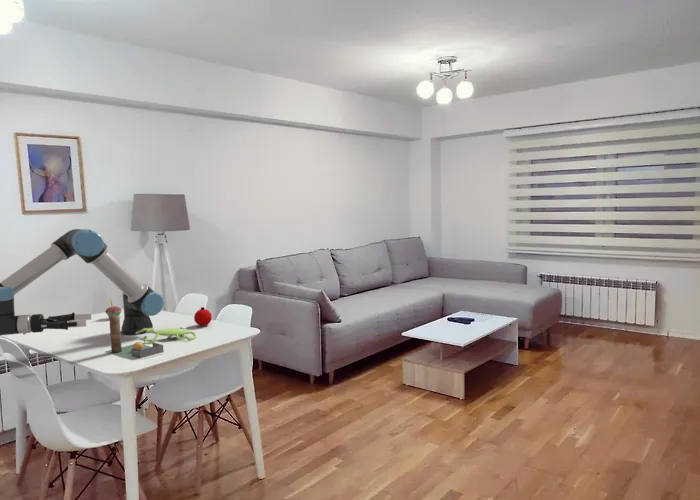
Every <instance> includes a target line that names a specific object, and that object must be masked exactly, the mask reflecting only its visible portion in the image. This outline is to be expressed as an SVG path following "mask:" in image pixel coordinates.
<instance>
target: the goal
mask: <svg viewBox="0 0 700 500" xmlns="http://www.w3.org/2000/svg"><path fill="white" fill-rule="evenodd" d="M151 345H152V346H150V347H151V348H147V349H144V350H138V349H134V348H132V349H131V353H132V356H131V357H135V358H139V359H143V358H148V357H149V359H150V358H152V356H153V355H154V356H153V358H155V357H156V356H159V354H160V355H163V353H164V344H162V343H157V342H153V343H152V344H151ZM161 353H162V354H161ZM157 354H158V355H157Z"/></svg>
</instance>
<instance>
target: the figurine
mask: <svg viewBox="0 0 700 500" xmlns="http://www.w3.org/2000/svg"><path fill="white" fill-rule="evenodd" d="M145 330H146V332H147V333H146V334H154V335H155V336H154V337H153V339H152V340H150V341H149V338H148V336H147V335H144V336H143V338H142V339H143V340H142V341H143V345H146V342H147V344H148V345H153V344H152V343H155V341H157V339H158V337H159V336H162V337H164V336H166V340H168V339H170V338H171V337H174V336H175V338H176V339H177V340H183V339H184V338H185V339H186V340H188V341H193V340H194V341H195V339H197V334H196V333H195V332H194V331H190V330H188V329H186V328H183V327H179V328H162V329H156V330H155V329H154V327H153V328H144V329H142V330H139V331H137V332H136V334H135V335H139V334H138V333H140V332H142V331H145ZM189 334H190V335H191V334H192V335H193V337H188V335H189ZM146 340H147V341H146Z"/></svg>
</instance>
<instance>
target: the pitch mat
mask: <svg viewBox="0 0 700 500" xmlns="http://www.w3.org/2000/svg"><path fill="white" fill-rule="evenodd" d="M134 344H135V343H134ZM134 344H130V345H126V346H121V349H122V352H120V353H112V351H111V349H109V350H106V351H104V353H107V354H110V355H112V356H116V357H120V358H122V359H125V358H128V357H133V356H132V353H131V349H132V348H133V345H134ZM151 347H152V346H150V345H146V344H143V348H142V350H144V349H147V348H151Z"/></svg>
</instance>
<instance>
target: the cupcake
mask: <svg viewBox="0 0 700 500" xmlns="http://www.w3.org/2000/svg"><path fill="white" fill-rule="evenodd" d="M122 312H123V311H122V308H121V307H119V306H117V305H116V306H113V300H112V299H110V307H107V308H106V309H105V314H106V315H107V316H108V318H109V316H112V315H119V316H120V314H121V313H122Z"/></svg>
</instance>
